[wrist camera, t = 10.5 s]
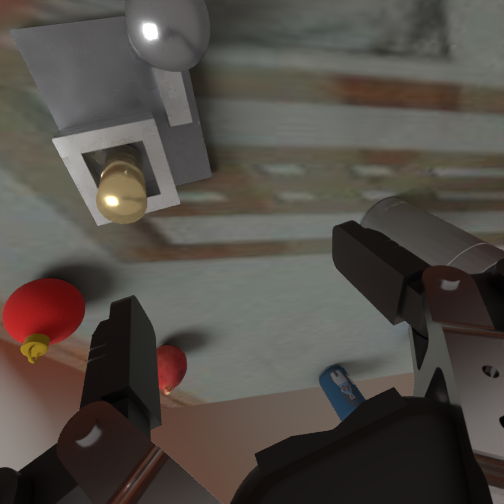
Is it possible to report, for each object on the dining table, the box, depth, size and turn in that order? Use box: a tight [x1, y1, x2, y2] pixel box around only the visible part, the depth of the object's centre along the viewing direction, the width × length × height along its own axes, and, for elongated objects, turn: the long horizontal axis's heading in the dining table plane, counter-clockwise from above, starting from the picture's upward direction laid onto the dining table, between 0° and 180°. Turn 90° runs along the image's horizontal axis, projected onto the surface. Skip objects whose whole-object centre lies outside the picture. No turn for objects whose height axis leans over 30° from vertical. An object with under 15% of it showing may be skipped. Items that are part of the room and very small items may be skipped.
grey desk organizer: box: [9, 0, 212, 226], centre depth 22 cm, size 15×12×11 cm
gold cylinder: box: [96, 145, 147, 224], centre depth 23 cm, size 3×3×10 cm
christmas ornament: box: [3, 278, 85, 363], centre depth 29 cm, size 7×7×10 cm
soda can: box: [319, 365, 366, 421], centre depth 63 cm, size 7×7×12 cm
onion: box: [156, 345, 187, 395], centre depth 41 cm, size 6×6×8 cm
